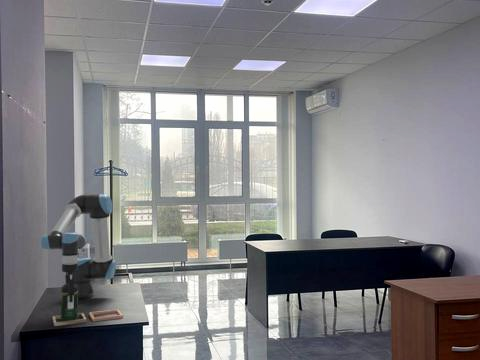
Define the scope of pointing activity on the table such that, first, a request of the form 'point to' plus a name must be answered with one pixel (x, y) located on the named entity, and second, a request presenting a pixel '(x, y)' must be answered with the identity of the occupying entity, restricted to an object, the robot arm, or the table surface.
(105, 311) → the frame
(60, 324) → the frame
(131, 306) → the table surface
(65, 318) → the coffee jar
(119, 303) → the table surface
